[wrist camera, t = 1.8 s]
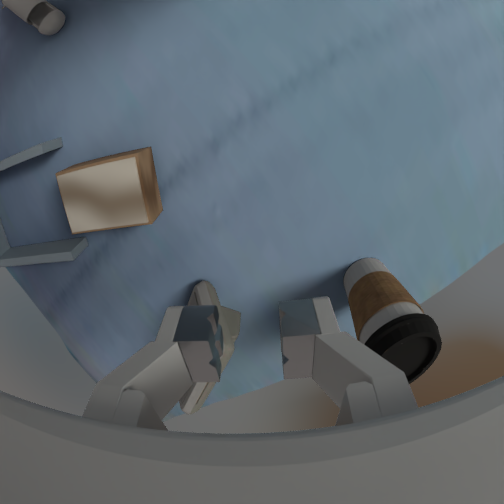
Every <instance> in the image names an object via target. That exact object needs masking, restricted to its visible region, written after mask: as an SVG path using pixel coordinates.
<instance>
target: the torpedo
mask: <svg viewBox="0 0 504 504" xmlns="http://www.w3.org/2000/svg"><path fill="white" fill-rule="evenodd" d="M2 4H3V5H4V6H3V7H2V9H4V8H5V7H7V8H9V9H10V10H11V11H13V12H14V13H15V14H16V15H17V16H19V17H20V18H21V19H23V20H24V21H25V22H26V23H28V24H29V25H33V26H34V27H36V28H37V29H38V30H39V32H40V33H41V34H44V35H53V34H55V33H57V32H58V31H59V30H60V29H61V27H62V26H63V25H64V22H65V15H64V14H63V12H62V11H60V10H59V9H57V8H56V7H54V6H53V5H51V4H50V3H48V2H47V1H46V0H2Z"/></svg>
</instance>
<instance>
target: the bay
mask: <svg viewBox="0 0 504 504" xmlns="http://www.w3.org/2000/svg"><path fill="white" fill-rule="evenodd" d="M60 147H63V144H62V139H61V137H60V138H57V139H53V140H50V141H47V142H44V143H41V144H38V145H36V146H33V147H31V148H29V149H26V150H24V151H22V152H19V153H17V154H15V155H13V156H11V157H8V158H6V159H4V160H2V161H0V171H2V170H4V169H6V168H9V167H11V166H13V165H16V164H18V163H20V162H23V161H25V160H28V159H30V158H33V157H35V156H38V155H41V154H43V153H46V152H49V151H51V150H54V149H57V148H60ZM87 246H88V242H87V239H86V237H80V238H73V239H66V240H59V241H52V242H45V243H38V244H31V245H25V246H19V247H12V248H10V245H9V242H8V240H7V237H6V234H5V231H4V228H3V225H2V222H1V219H0V267H7V266H18V265H29V264H40V263H51V262H62V261H73V260H75V259H76V258H77V257H78V256H79V255H80V254H81V253H82V251H83V250H84V249H85V248H86V247H87Z"/></svg>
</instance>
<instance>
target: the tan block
mask: <svg viewBox="0 0 504 504" xmlns="http://www.w3.org/2000/svg"><path fill="white" fill-rule="evenodd" d="M56 178H57V182H58V186H59V190H60V194H61V197H62V201H63V205H64V208H65V212H66V215H67V219H68V222H69V225H70V228H71V231H72V234H78V233H85V232H93V231H100V230H107V229H115V228H123V227H131V226H139V225H148V224H152V223H153V222H154V221H155V220H156V218H157V217H158V216H159V214H160V213H161V212H162V211H163V208H162V203H161V198H160V193H159V188H158V183H157V177H156V172H155V166H154V161H153V155H152V149H151V147H146V148H141V149H137V150H132V151H127V152H123V153H118V154H114V155H110V156H105V157H101V158H97V159H94V160H90V161H86V162H82V163H79V164H75V165H72V166H70V167H68V168H66V169H64V170H62V171H60V172H58V173H56Z"/></svg>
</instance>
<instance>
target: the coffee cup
mask: <svg viewBox="0 0 504 504" xmlns="http://www.w3.org/2000/svg"><path fill="white" fill-rule="evenodd" d="M344 287H345V291H346V294H347V298H348V302H349V306H350V310H351V315H352V319H353V323H354V327H355V332H356V336H357V340H358V341H360V342H361V343H362V344H364V345H365V346H367V347H368V348H370V349H371V350H372V351H374V352H375V353H377V354H378V355H380V356H381V357H383V358H384V359H385V360H387V361H388V362H390V363H391V364H393V365H394V366H396V367H397V368H398V369H400V370H401V371H403V372H404V373H405V376H406V378H407V381H408V383H409V384H410V383H412V382H413V381H414V380H416V379H417V378H418V377H419V376H421V375H422V374H423V373H424V372H425V371H426V370H427V369H428V368H429V367H430V366H431V365H432V363H433V362H434V361H435V359H436V358H437V356H438V354H439V352H440V350H441V345H442V342H441V338H440V335H439V331H438V326H437V325H436V323H435V322H434V320H433V319H432V318H431V317H429V316H428V315H425V314H424V312H423V309H422V308H421V307H420V305H419V304H418V303H417V302H416V301H415V299H414V298H413V297H412V296H411V295H410V294H409V293H408V291H407V290H406V289H405V288H404V287H403V286H402V285H401V283H400V282H399V281H398V280H397V279H396V278H395V277H394V276H393V275H392V274H391V273H390V271H389V270H388V269H387V268H386V267H385V266H384V264H383V263H382V262H381V261H379V260H377V259H375V258H364V259H361V260H358V261H356V262H355V263H353V264H352V265H351V266H350V267H349V268H348V270H347V271H346V273H345V276H344Z"/></svg>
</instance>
